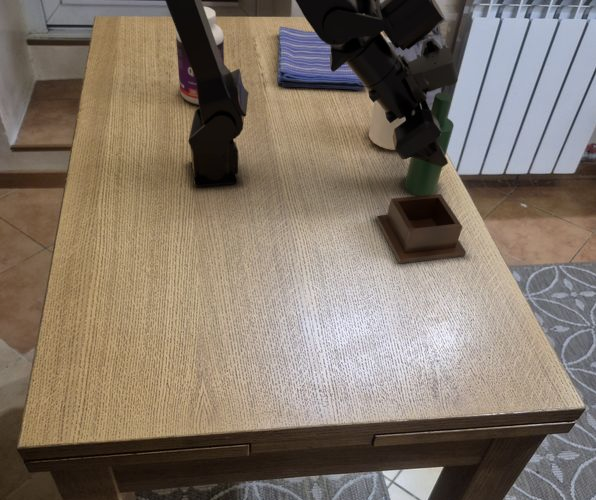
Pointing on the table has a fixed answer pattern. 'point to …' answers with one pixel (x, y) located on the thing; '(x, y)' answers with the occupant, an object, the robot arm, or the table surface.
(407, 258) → the holder
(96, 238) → the table surface
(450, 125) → the bottle
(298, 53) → the dish towel
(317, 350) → the table surface
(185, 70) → the pill bottle
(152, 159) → the table surface
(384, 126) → the beverage can
